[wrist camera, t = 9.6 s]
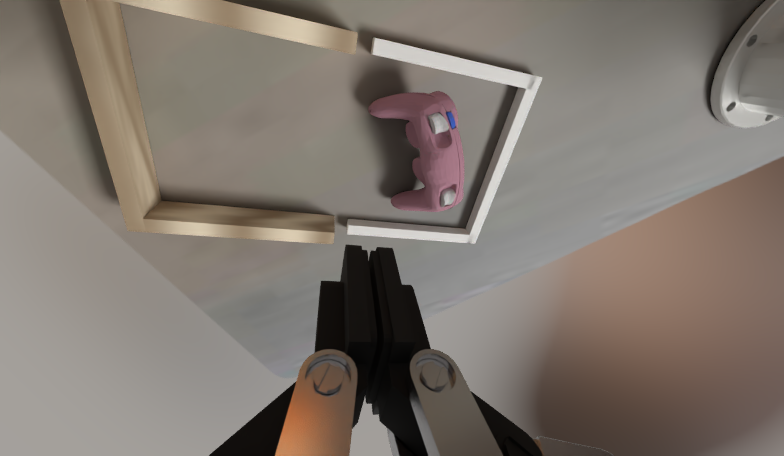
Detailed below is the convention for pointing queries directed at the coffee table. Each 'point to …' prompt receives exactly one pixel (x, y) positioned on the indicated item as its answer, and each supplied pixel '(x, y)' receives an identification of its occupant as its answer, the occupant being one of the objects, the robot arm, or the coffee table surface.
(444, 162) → the video game controller
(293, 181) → the coffee table surface
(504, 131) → the white bay
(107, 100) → the wooden u-shaped frame
